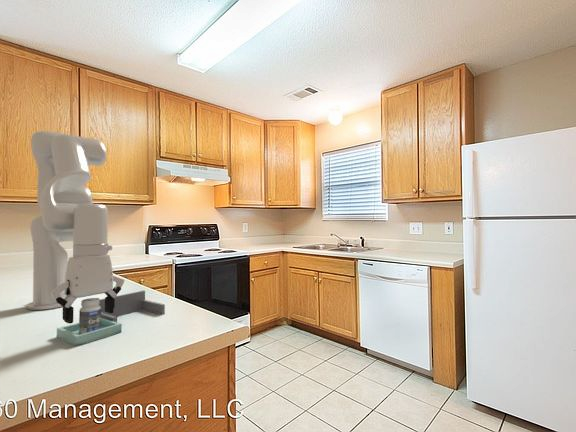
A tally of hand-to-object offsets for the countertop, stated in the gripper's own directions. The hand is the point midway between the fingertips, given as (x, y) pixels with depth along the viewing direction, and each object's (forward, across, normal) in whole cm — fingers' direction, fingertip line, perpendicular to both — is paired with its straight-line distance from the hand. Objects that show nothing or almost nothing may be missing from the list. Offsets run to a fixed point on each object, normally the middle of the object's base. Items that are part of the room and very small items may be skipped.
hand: (89, 317), depth 79 cm
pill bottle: (+4, 0, 0) cm, 4 cm away
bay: (+4, -14, -4) cm, 15 cm away
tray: (+4, 0, 0) cm, 4 cm away
